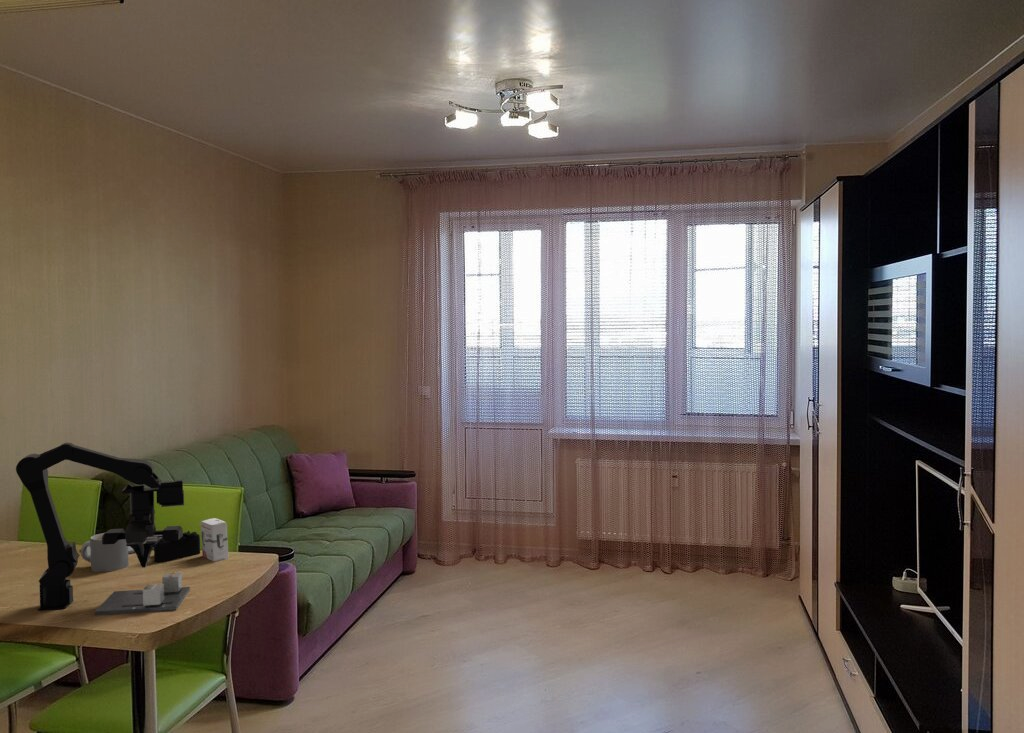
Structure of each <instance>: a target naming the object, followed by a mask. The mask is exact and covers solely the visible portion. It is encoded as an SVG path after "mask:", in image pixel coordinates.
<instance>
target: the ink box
mask: <svg viewBox="0 0 1024 733" xmlns="http://www.w3.org/2000/svg"><path fill="white" fill-rule="evenodd" d="M200 532H201V535H200V537H201V550H202V551H201V552H202V558H205V559H208V560H210V561H212V562H220V561H224V560H228V559H229V543H228V523H227V522H226V521H224V520H222V519H219V518H217V517H213V518H208V519H204V520H201V521H200Z"/></svg>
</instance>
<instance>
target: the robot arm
mask: <svg viewBox="0 0 1024 733" xmlns="http://www.w3.org/2000/svg"><path fill="white" fill-rule="evenodd" d="M64 461H70V462H74V463H77V464H80V465H84V466H87V467H92V468H96V469H99V470H103V471H106V472H109V473H113V474H115V475H117V476H118V477H120V478H122V479H124V480H126V481H128V483H127V485H126V486H125V487H124V488H123V489H122V490H121V494H123V495H125V494H129V495H130V496H129V500H130V501H129V502H130V503H129V504H130V505H129V506H130V514H129V521H128V524H127V526H126V527H125V529H124V528H110V529H109V530H107V531H106V532H103V533H104V534H103V536H102V544H104V545H105V544H115V543H116V542H117V541H118V540H122V539H126V543H127V544H126V546H130V547H131V548H132V549H133V550H134V551H135V553H134V554H135V555H136V556H137V559H138V562H139V564H140V566H141V568H147V566H148V563H149V559H150V557H151V554H152V552H153V550H152V549H153V547H154V545H155V544H157V543H158V542H159V541H160V538H161V537H162V539H163V540H165V541H177V540H179V539H180V538H181V537H182V536H183V533H184V530H183V527H182V526H181V525H173V526H172V525H171V526H168V525H167V526H165V528H163V530H162V529H161V530H160V529H158V530H156V529H157V528H156V526H157V525H156V523H155V520H156V519H155V514H156V509H155V494H156V504H158V505H159V506H161V508H167V507H168V508H169V507H179V506H185V490H184V485H183V481H184V480H183V479H177V480H170V481H169V480H168V481H162V480H161V479H160V477H159V476H158V475H157V474H156V473H155V472H154V466H153V464H152V462H150V461H148V460H147V459H138V458H127V457H126V458H125V457H118V456H115V455H111V454H108V453H103V452H100V451H96V450H93V449H89V448H87V447H86V448H85V447H83V446H79V445H75V444H73V443H72V442H68V441H67V442H63V443H62V444H61V445H58V446H57V447H56V446H55V447H54V448H52V449H49V450H46V451H44V452H41V453H39V454H38V453H30V454H28V455H26V456H25V457H23V458H22V459H20V460H19V461H18V463H17V464H16V466H15V472H16V474H17V476H18V478H19V480H20V481H21V483H22V485H23V487H25V489H26V490H27V491H28V492H29V494H30V496H31V501H32V503H33V505H34V508H35V511H36V515H37V519H38V521H39V524H40V527H41V530H42V533H43V536H44V541H45V543H46V547H47V548H46V549H47V551H46V552H47V553H46V554H47V567H48V568H46V569H45V570H44V572H43V573H42V575H41V577H39V580H38V582H39V607H37V608H36V610H37V611H52V610H65V609H67V607H68V606H70V605H71V604H72V603H73V602H74V589H73V588H74V586H73V585H71V579H67V578H68V577H70V576H71V575H72V574H73V573H74V571H75V568H76V567H77V566H78V563H79V561H78V560H79V559H80V558H79V557H80V554H79V552H78V550H77V547H76V546H77V545H76V542H75V541H73V542H71V543H69V541H68V540H67V539H66V537H65V535H64V531H63V529H62V526H61V523H60V518H59V516H58V514H57V511H56V507H55V504H54V500H53V498H52V494H51V491H50V489H49V471H48V469H49V468H51V467H53V466H55V465H57V464H59V463H61V462H64ZM129 482H130V483H129ZM131 483H132V484H131ZM133 484H134V485H133ZM145 486H147V487H145ZM155 492H156V493H155ZM145 541H146V542H145ZM144 542H145V543H144Z"/></svg>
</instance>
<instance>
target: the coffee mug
mask: <svg viewBox="0 0 1024 733" xmlns="http://www.w3.org/2000/svg"><path fill="white" fill-rule="evenodd" d="M104 533H105V532H103V533H98V534H97V533H96V534H94V535H92V536H90V538H89V540H88V541H85V542H84V543H82V545H81V547H80V553H81V557H82V559H83V560H84V561H85V562H88V563H90V570H91V571H93V572H95V573H107V572H110V573H111V572H116V571H120V570H124V569H126V568H127V567H129V554H128V546H126V544H127V543H126V539H122V540H118V541H117V542H116V543H115V544H105V545H104V544H102V536H103V534H104ZM88 546H89V547H90V549H91V556H88V554H87V547H88Z"/></svg>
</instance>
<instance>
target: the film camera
mask: <svg viewBox="0 0 1024 733" xmlns="http://www.w3.org/2000/svg"><path fill="white" fill-rule="evenodd" d="M200 554H201V535H200V534H198V533H197V531H192V532H190V531H189V530H188V531H187V532H186V531H185V532H183V536H182V537H181V538H180V539H179V540H177V541H165V540H163V539H162V538H160V541H159V542H158V543H157V544H155V545H154V550H153V556H154V557H153V558H154V561H153V562H154V563H155V564H163V563H166V562H170V561H171V562H172V561H175V560H180V559H184V558H188V557H194V556H196V555H197V556H198V555H200Z"/></svg>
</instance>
